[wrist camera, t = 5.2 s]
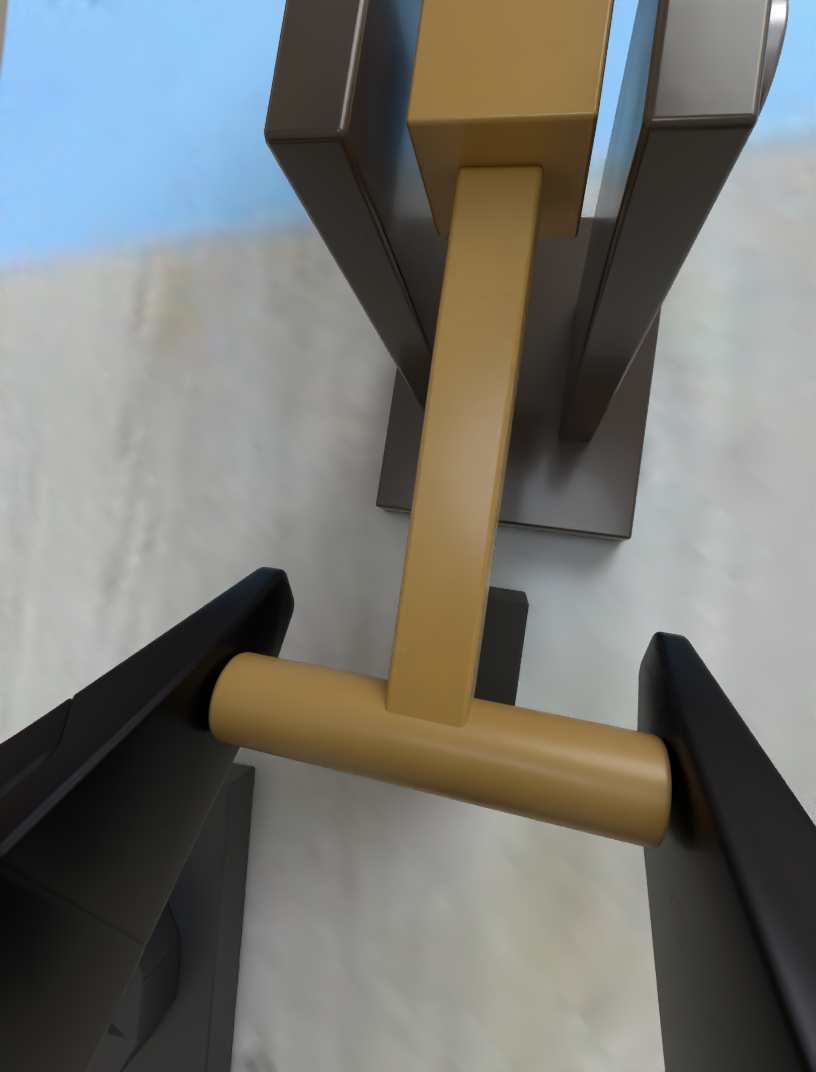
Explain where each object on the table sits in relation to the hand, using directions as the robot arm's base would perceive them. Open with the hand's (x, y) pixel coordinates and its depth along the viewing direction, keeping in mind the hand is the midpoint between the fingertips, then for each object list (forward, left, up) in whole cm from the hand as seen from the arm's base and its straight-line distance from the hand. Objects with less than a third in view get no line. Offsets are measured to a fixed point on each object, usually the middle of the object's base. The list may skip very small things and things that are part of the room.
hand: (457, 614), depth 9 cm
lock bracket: (+7, -1, -9) cm, 12 cm away
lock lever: (+3, 0, +1) cm, 3 cm away
